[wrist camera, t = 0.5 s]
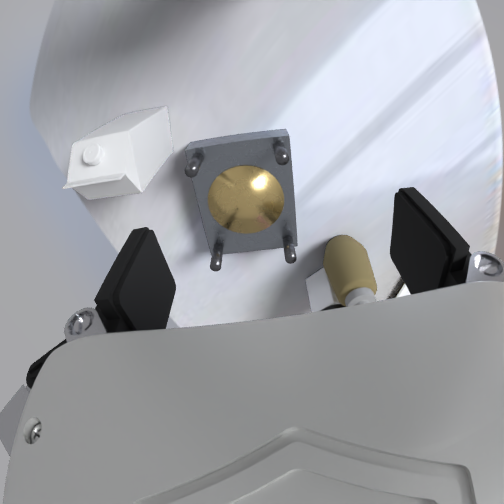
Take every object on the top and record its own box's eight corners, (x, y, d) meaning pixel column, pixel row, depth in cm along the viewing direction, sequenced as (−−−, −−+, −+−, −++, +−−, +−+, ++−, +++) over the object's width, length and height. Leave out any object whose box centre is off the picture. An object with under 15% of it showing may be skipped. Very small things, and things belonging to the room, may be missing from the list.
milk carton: (174, 150, 42) (129, 212, 26) (131, 156, 42) (72, 218, 27) (167, 105, 37) (112, 141, 22) (123, 113, 38) (52, 156, 22)
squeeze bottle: (319, 267, 55) (339, 346, 41) (317, 232, 50) (341, 311, 36) (360, 261, 54) (389, 335, 40) (362, 225, 49) (399, 300, 35)
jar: (319, 304, 61) (328, 350, 52) (295, 284, 58) (303, 332, 48) (354, 282, 57) (370, 327, 48) (333, 259, 54) (348, 306, 44)
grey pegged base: (190, 142, 41) (176, 162, 34) (285, 128, 40) (294, 146, 33) (213, 241, 52) (207, 275, 44) (294, 232, 50) (301, 266, 43)
